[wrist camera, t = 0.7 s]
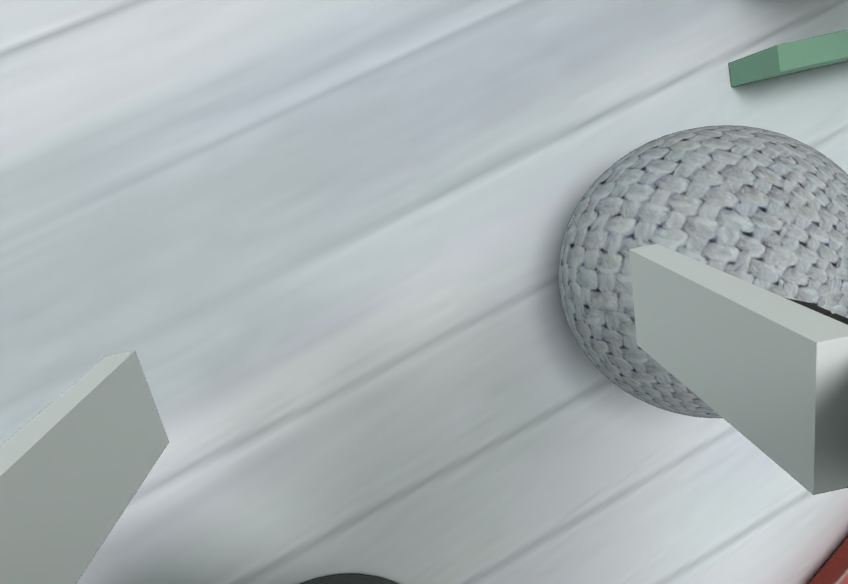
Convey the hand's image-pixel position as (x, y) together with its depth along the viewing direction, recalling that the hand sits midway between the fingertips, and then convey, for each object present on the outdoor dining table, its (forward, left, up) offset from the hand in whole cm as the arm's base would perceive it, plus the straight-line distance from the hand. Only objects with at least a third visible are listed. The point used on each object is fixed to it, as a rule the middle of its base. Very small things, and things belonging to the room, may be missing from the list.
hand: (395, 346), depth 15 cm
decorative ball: (+2, -18, -20) cm, 27 cm away
